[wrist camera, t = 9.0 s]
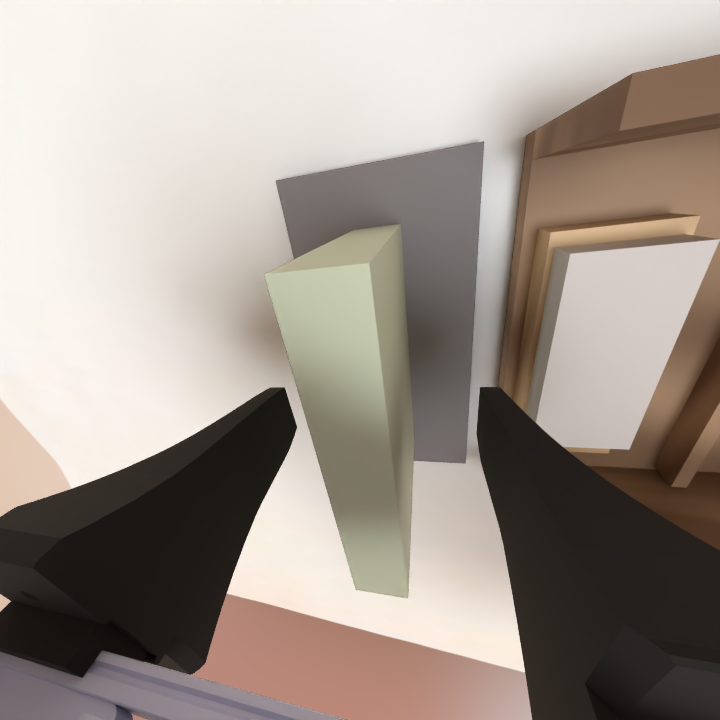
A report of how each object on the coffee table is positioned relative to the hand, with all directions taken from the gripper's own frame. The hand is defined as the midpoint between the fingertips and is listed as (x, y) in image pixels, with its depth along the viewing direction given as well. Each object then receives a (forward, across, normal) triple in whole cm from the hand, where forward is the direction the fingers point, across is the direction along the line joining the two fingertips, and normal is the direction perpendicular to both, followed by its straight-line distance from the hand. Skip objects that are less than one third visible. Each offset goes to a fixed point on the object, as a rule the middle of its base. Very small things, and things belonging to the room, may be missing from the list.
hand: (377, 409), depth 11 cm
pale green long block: (+5, 0, 0) cm, 5 cm away
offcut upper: (+3, -8, -1) cm, 9 cm away
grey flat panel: (+5, 0, 0) cm, 5 cm away
